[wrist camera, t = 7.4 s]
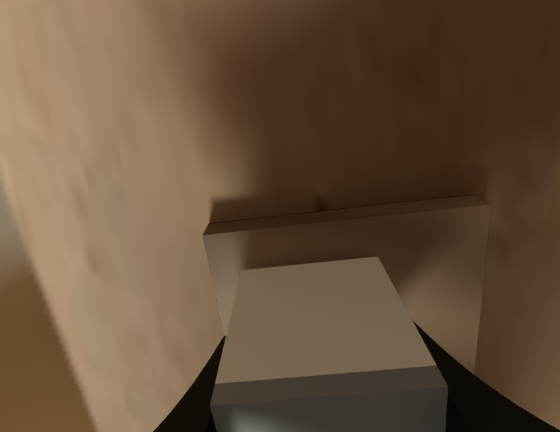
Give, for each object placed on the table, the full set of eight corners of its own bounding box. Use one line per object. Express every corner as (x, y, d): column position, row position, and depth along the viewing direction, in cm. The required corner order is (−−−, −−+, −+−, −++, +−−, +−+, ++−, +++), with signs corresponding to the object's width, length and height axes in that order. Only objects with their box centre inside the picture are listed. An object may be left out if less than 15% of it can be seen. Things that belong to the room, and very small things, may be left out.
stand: (453, 461, 20) (505, 578, 15) (261, 474, 20) (254, 591, 16) (475, 194, 14) (570, 249, 9) (208, 223, 15) (173, 289, 10)
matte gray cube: (380, 364, 15) (438, 533, 9) (260, 374, 15) (245, 544, 10) (377, 256, 13) (447, 386, 7) (241, 270, 13) (209, 405, 8)
